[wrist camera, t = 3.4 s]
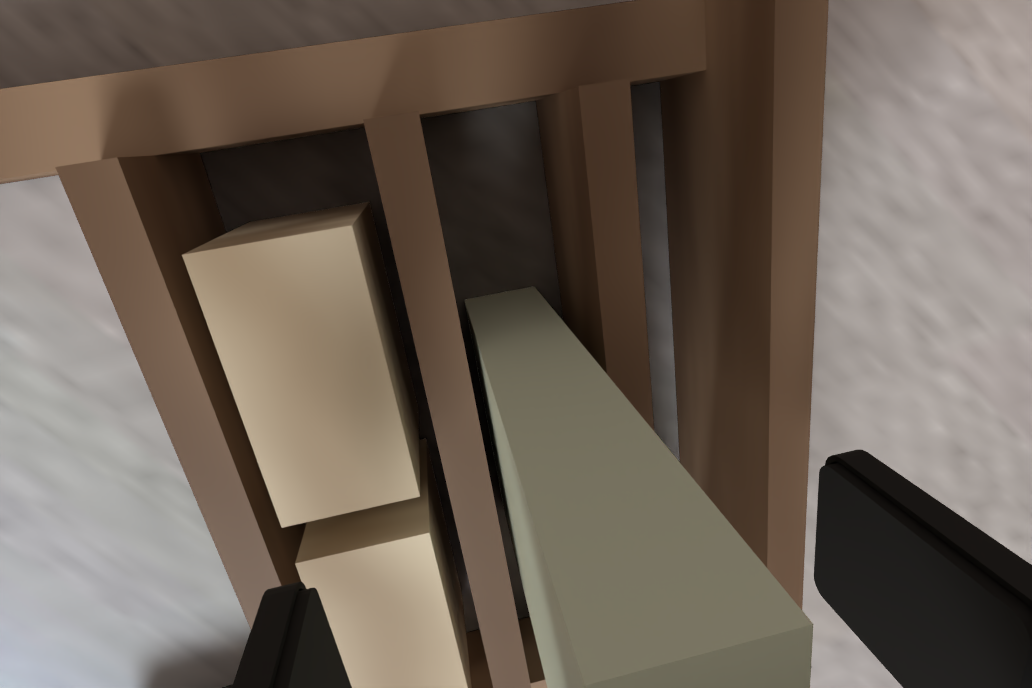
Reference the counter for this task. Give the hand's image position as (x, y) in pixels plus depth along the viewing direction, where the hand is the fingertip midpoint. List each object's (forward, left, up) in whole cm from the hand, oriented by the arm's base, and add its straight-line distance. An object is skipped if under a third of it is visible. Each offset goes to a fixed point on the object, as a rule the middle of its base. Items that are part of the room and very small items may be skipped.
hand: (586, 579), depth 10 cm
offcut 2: (+4, +4, -7) cm, 9 cm away
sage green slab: (0, 0, -7) cm, 7 cm away
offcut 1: (+4, -3, -7) cm, 9 cm away
